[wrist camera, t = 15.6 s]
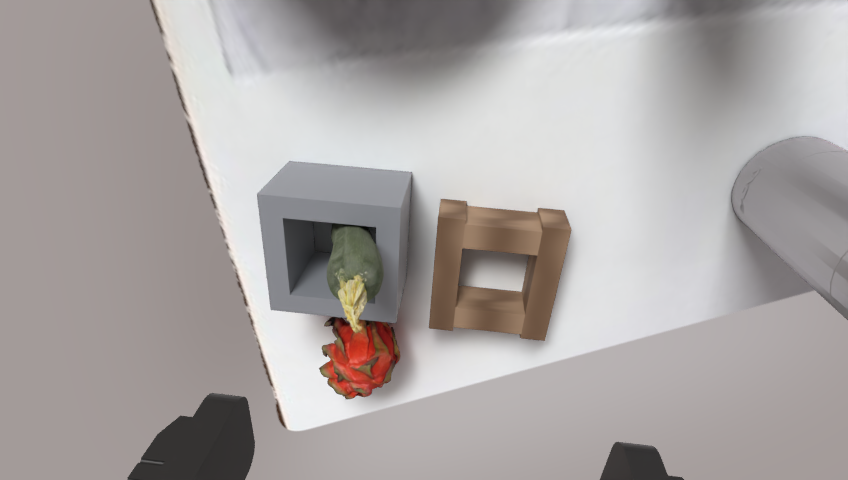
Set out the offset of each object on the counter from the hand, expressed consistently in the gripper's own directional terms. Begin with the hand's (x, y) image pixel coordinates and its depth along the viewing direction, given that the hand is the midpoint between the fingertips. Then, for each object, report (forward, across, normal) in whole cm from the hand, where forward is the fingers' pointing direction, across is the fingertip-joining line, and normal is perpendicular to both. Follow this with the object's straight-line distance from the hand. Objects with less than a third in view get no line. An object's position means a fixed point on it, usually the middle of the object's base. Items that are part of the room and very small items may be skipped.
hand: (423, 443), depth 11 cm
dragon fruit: (+36, +8, +28) cm, 47 cm away
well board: (+36, -5, +17) cm, 40 cm away
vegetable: (+36, +10, +14) cm, 40 cm away
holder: (+36, +10, +14) cm, 40 cm away
